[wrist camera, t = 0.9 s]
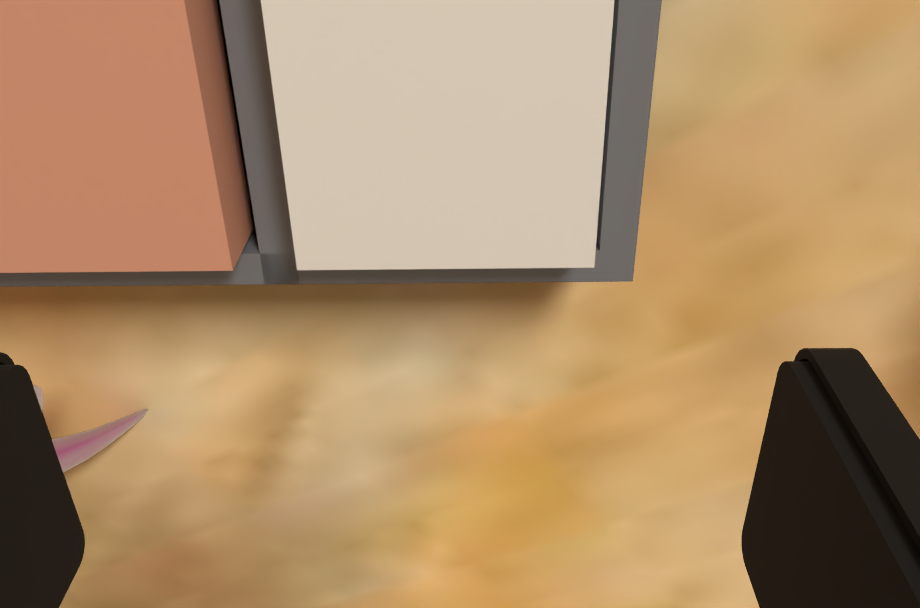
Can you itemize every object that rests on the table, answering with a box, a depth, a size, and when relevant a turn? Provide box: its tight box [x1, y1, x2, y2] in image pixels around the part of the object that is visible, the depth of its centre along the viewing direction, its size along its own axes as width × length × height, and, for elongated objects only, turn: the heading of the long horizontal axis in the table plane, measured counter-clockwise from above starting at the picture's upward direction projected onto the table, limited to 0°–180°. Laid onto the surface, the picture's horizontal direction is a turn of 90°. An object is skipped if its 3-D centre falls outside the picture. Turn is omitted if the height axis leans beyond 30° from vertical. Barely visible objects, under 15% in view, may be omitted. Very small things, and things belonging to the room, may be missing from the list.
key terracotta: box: [0, 0, 253, 273], centre depth 21 cm, size 8×8×2 cm
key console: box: [0, 0, 662, 287], centre depth 23 cm, size 11×20×4 cm, turn 91°
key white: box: [261, 0, 614, 270], centre depth 21 cm, size 8×8×2 cm
